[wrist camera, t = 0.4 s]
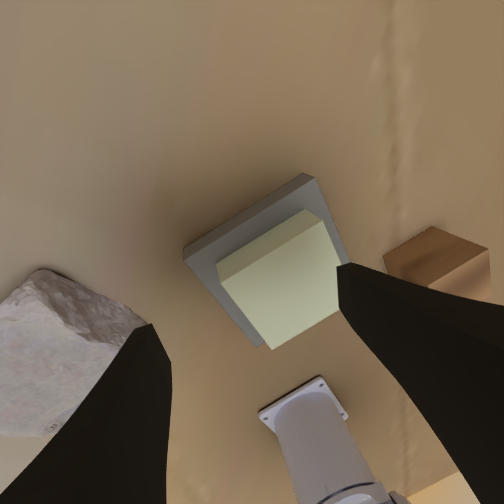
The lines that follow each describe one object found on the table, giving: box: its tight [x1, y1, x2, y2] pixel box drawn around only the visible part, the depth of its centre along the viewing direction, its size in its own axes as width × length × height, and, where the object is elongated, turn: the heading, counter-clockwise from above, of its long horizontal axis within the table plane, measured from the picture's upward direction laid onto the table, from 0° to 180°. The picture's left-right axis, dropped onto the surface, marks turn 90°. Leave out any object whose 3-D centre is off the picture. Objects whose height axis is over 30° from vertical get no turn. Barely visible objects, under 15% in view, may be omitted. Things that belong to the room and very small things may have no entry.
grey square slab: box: [183, 173, 350, 347], centre depth 20 cm, size 10×10×2 cm
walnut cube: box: [383, 226, 492, 301], centre depth 22 cm, size 5×5×5 cm
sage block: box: [216, 209, 341, 350], centre depth 18 cm, size 7×7×2 cm
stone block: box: [0, 269, 146, 437], centre depth 19 cm, size 12×5×10 cm
